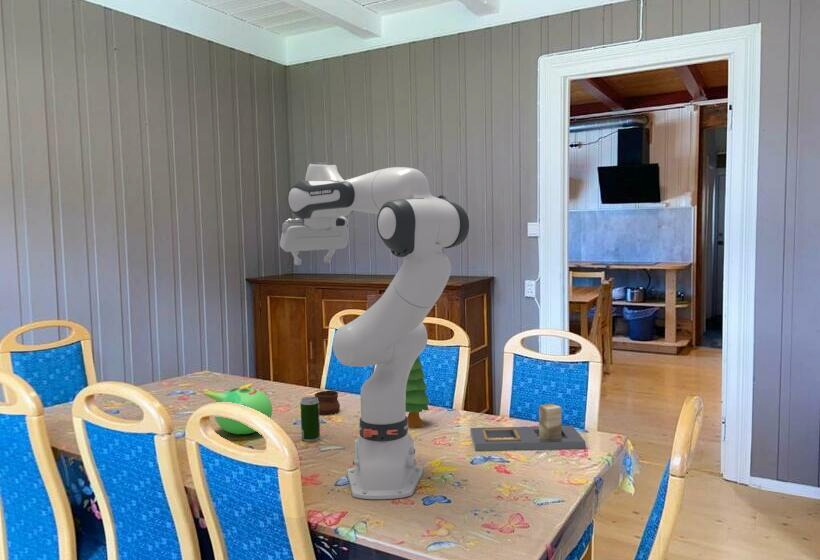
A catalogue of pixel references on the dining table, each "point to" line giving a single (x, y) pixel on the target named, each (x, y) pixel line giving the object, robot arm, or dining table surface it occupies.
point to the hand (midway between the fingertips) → (312, 263)
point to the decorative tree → (416, 395)
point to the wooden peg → (550, 421)
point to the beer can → (310, 419)
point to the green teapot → (242, 397)
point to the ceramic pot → (328, 402)
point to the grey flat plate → (524, 439)
